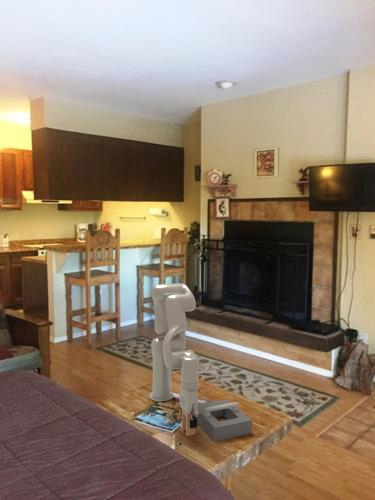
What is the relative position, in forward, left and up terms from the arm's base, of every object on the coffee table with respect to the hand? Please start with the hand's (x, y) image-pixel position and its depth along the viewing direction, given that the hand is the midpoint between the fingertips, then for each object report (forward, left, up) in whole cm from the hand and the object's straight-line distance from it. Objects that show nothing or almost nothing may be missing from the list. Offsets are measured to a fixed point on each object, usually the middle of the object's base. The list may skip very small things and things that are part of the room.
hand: (188, 422), depth 185 cm
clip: (0, 0, -4) cm, 4 cm away
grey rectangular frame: (0, +16, -4) cm, 17 cm away
